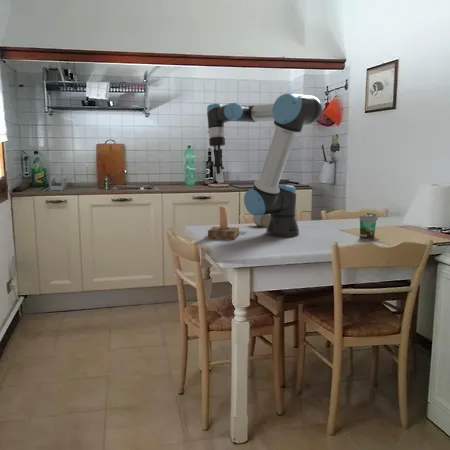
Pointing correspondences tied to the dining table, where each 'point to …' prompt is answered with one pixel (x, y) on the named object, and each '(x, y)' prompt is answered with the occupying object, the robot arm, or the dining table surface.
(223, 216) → the dowel
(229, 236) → the socket block
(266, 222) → the grey beige can
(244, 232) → the mat
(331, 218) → the dining table surface
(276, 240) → the dining table surface
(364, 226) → the food container
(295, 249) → the dining table surface
